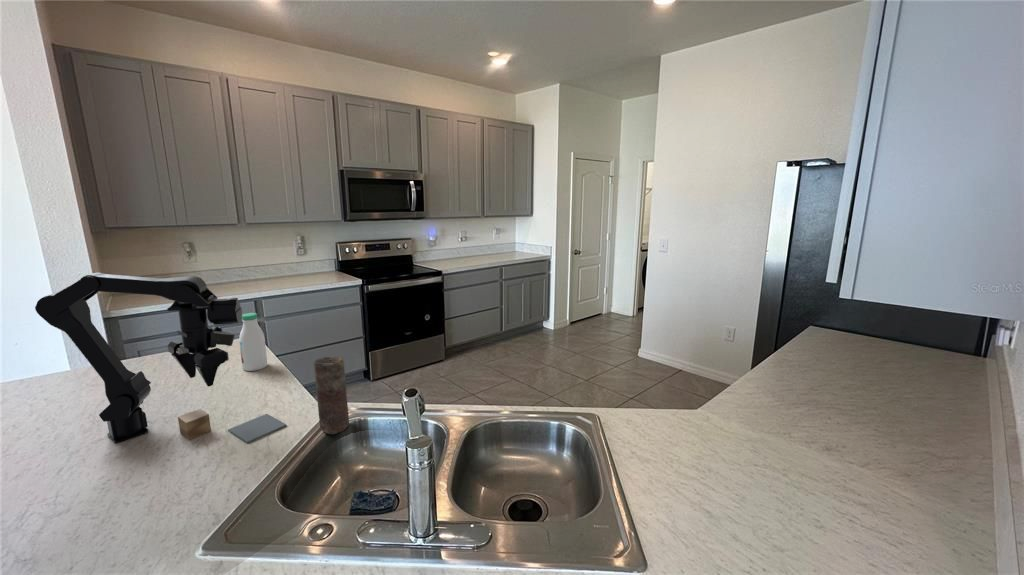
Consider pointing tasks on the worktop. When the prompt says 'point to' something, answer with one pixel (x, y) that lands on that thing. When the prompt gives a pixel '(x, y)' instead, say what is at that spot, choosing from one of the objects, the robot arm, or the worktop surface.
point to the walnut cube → (194, 424)
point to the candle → (331, 394)
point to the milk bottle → (252, 344)
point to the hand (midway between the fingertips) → (201, 381)
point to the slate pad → (257, 428)
